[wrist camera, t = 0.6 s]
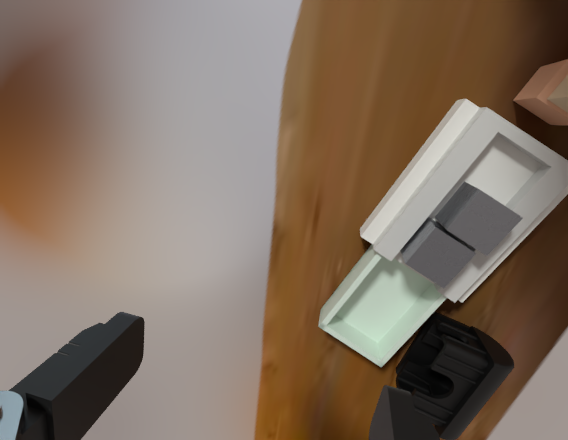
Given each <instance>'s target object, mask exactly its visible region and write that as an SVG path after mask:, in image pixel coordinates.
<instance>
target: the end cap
mask: <svg viewBox="0 0 568 440" xmlns="http://www.w3.org/2000/svg"><path fill="white" fill-rule="evenodd" d="M513 368H514V362H513V359H512V357H511V356H510V354H509V353H508V352H507V351H506V350H505V349H504V348H503V347H502V346H501V345H500V344H499V343H498V342H497V341H495V340H494V339H493V338H491V337H490V336H489V335H487V334H485V333H484V332H482V331H480V330H479V329H477V328H475V327H473V326H471V327H469V326H467V325H465V324H463V323H460V322H458V321H456V320H453V319H451V318H449V317H447V316H444V315H442V314H440V313H437V312H433V313H432V314H431V316H430V317H429V318H428V319H427V320H426V322H425V324H424V325H423V327H422V328H421V330H420V331H419V333H418V334H417V336H416V338H415V339H414V341H413V342H412V344H411V345H410V347H409V348H408V350H407V352H406V353H405V355H404V356H403V358H402V359H401V361H400V363H399V364H398V366H397V367H396V373H397V377H396V384H397V388H398V389H401V390H405V391H409V392H410V393H411V395H412V398H413V403H414V408H415V413H418V414H422V415H425V416H427V417H428V418H429V420H430V422H431V423H432V424H434V425H435V428H436V431H437V433H438V434H439V437H440V438H442V439H446V440H455V439H457V438H458V437H459V436H460V435H461V434H462V432H463V431H464V430H465V429H466V427H467V426H468V425H469V424H470V422H471V421H472V420H473V419H474V417H475V416H476V415H477V414H478V412H479V411H480V410H481V408H482V407H483V406H484V405H485V403H486V402H487V401H488V400H489V398H490V397H491V396H492V395H493V393H494V392H495V391H496V390H497V388H498V387H499V386H500V385H501V383H502V382H503V381H504V380H505V378H506V377H507V376H508V374H509V373H510V372H511V371H512V369H513Z"/></svg>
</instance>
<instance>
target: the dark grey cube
mask: <svg viewBox="0 0 568 440" xmlns="http://www.w3.org/2000/svg"><path fill="white" fill-rule="evenodd" d="M400 251H401V254H402V257H403V259H404V262H405V264H407V265H408V266H410V267H411V268H413V269H414V270H416V271H417V272H419V273H421V274H422V275H424V276H425V277H427V278H428V279H430V280H431V281H433V282H434V283H436V284H437V285H439V286H440V287H442V288H445V287H446V286H447V285H448V284H449V283H450V282H451V281H452V279H453V278H454V277H455V276H456V275H457V274H458V273H459V272H460V271H461V270H462V269H463V268H464V267H465V265H466V264H467V263H468V262H469V261H470V260H471V259H472V258H473V257H474V256H475V255H476V253H475V252H474V251H473V250H472V249H471V248H470V247H469V246H468V244H467V243H466V242H464V241H463V240H461V239H460V238H458V237H457V236H455V235H454V234H452V233H451V232H449V231H447V230H446V229H445V228H444V226H442V225H441V224H439V223H438V222H436V221H435V220H433V219H432V218H430V217H429V216H428V218H427V219H426V220H425V221H424V222H423V224H422V225H421V226H420V227H419V228H418V230H417V231H416V232H415V233H414V235H413V236H412V237H411V238H410V239H409V241H408V242H407V243H406V244H405V245H404V247H403V248H402V249H401V250H400Z"/></svg>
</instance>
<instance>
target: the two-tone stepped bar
mask: <svg viewBox="0 0 568 440" xmlns="http://www.w3.org/2000/svg"><path fill="white" fill-rule="evenodd" d="M513 101H515V102H516V103H518V104H519V105H521V106H522V107H524V108H525V109H527V110H528V111H530V112H531V113H533V114H534V115H536V116H538V117H539V118H541V119H542V120H544V121H545V122H547V123H548V124H550V125H567V126H568V59H566V60H563V61H559V62H556V63H552V64H548V65H545V66H541V67H540V68H539V69H538V70H537V72H536V73H535V74H534V75H533V76H532V78H531V79H530V80H529V81H528V83H527V84H526V85H525V86H524V87H523V89H522V90H521V91H520V92H519V94H518V95H517V96H516V97H515V99H514V100H513Z"/></svg>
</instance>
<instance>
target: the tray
mask: <svg viewBox="0 0 568 440" xmlns="http://www.w3.org/2000/svg"><path fill="white" fill-rule="evenodd" d="M446 299H447V297H445V296H444V295H442V294H441V293H439V292H438V291H437V290H436V288H435V286H434V284H433V283H431V282H430V281H428V280H426V279H425V278H423V277H422V276H420V275H419V274H417V273H416V272H414V271H413V270H411V269H410V268H408V267H407V266H405V265H403V264H402V263H400V262H399V261H397V260H396V259H393V260H392V261H390V260H388V259H387V258H385V257H384V256H382V255H381V254H379V253H378V252H376V251H375V250H374V249H373V244H372V245H371V246H370V247H369V248H368V250H367V251H366V252H365V254H364V255H363V256H362V257H361V259H360V260H359V261H358V262H357V264H356V265H355V266H354V268H353V269H352V270H351V271H350V273H349V274H348V275H347V276H346V278H345V279H344V280H343V282H342V283H341V284H340V285H339V287H338V288H337V289H336V290H335V292H334V293H333V294H332V296H331V297H330V298H329V299H328V301H327V302H326V303H325V305H324V306H323V307H322V308H321V311H320V318H319V325H318V327H320V328H321V329H323V330H324V331H326V332H327V333H329V334H331V335H332V336H334V337H335V338H337V339H338V340H340V341H341V342H343V343H344V344H346V345H347V346H349V347H351V348H352V349H354V350H355V351H357V352H358V353H360V354H361V355H363V356H364V357H366V358H367V359H369V360H371V361H372V362H374V363H375V364H377V365H378V366H380V367H382V366H383V365H384V364H385V363H386V362H387V361H388V360H389V359H390V358H391V357H392V356H393V355H394V354H395V353H396V352H397V351H398V349H399V348H400V347H401V346H402V345H403V344H404V343H405V342H406V341H407V340H408V339H409V338H410V337H411V336H412V335H413V334H414V332H415V331H416V330H417V329H418V328H419V327H420V326H421V325H422V324H423V323H424V322H425V321H426V320H427V319H428V318H429V317H430V316H431V314H432V313H433V312H434V311H435V310H436V309H437V308H438V307H439V306H440V305H441V304H442V303H443V302H444V301H445V300H446Z"/></svg>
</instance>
